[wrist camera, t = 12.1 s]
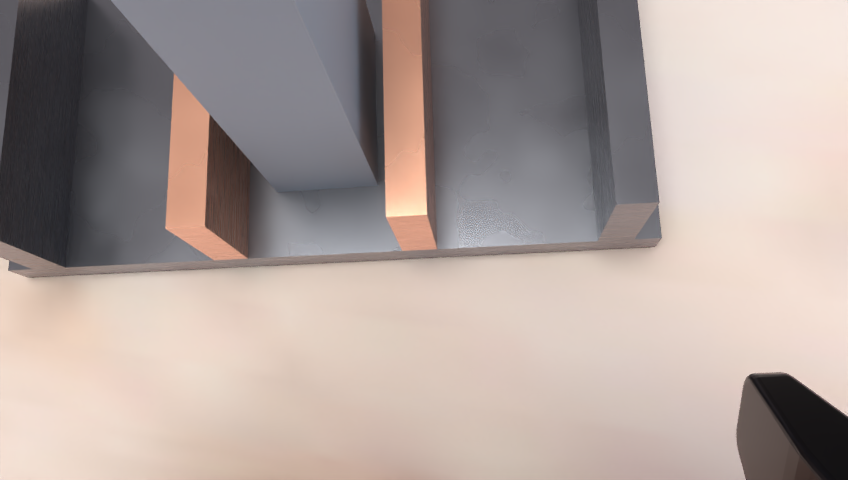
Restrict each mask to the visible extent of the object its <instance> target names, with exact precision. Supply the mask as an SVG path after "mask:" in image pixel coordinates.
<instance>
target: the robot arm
mask: <svg viewBox="0 0 848 480" xmlns="http://www.w3.org/2000/svg"><path fill="white" fill-rule="evenodd" d="M737 446H738V451H739V455H740V459H741V463H742V466H743V470H744V474H745V478H746V480H848V416H847V415H845V414H844V413H842V412H841V411H840V410H838V409H837V408H835V407H834V406H833V405H831V404H830V403H829V402H827V401H826V400H824V399H823V398H822V397H820V396H819V395H817V394H816V393H815V392H813V391H812V390H811V389H809V388H808V387H806V386H805V385H804V384H802V383H801V382H799V381H798V380H797V379H795V378H794V377H792V376H791V375H789V374H787V373H781V372H776V373H754V374H751V375H749V376H748V377H747V378H746V380H745V382H744V385H743V391H742V398H741V404H740V410H739V417H738V423H737Z"/></svg>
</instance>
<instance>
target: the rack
mask: <svg viewBox="0 0 848 480" xmlns="http://www.w3.org/2000/svg"><path fill="white" fill-rule="evenodd" d="M365 1H366V5H367V8H368V11H369V15H370V18H371V22H372V25H373V28H374V35H375V75H376V115H377V154H378V186H365V187H350V188H334V189H319V190H304V191H288V192H277V191H276V190H275V189H274V188H273V187H272V185H271V184H270V183H269V182H268V181H267V180H266V179H265V177H264V176H263V175H262V174H261V173H260V172H259V170H258V169H257V168H256V167H255V166H254V165H253V164H252V162H251V161H250V160H249V159H248V158H247V157H246V155H245V154H244V153H243V152H242V151H241V150H240V149H239V147H238V146H237V145H236V144H235V143H234V142H233V141H232V139H231V138H230V137H229V136H228V135H227V134H226V132H225V131H224V130H223V129H222V128H221V127H220V126H219V124H218V123H217V122H216V121H215V120H214V119H213V117H212V116H211V115H210V114H209V113H208V112H207V111H206V109H205V108H204V107H203V106H202V105H201V104H200V103H199V101H198V100H197V99H196V98H195V97H194V96H193V94H192V93H191V92H190V91H189V90H188V89H187V88H186V86H185V85H184V84H183V83H182V82H181V81H180V79H179V78H178V77H177V76H176V75H175V74H174V73H173V71H172V70H171V69H170V68H169V67H168V66H167V64H166V63H165V62H164V61H163V60H162V59H161V58H160V56H159V55H158V54H157V53H156V52H155V51H154V50H153V48H152V47H151V46H150V45H149V44H148V43H147V41H146V40H145V39H144V38H143V37H142V36H141V35H140V33H139V32H138V31H137V30H136V29H135V28H134V26H133V25H132V24H131V23H130V22H129V21H128V20H127V18H126V17H125V16H124V15H123V14H122V13H121V12H120V10H119V9H118V8H117V7H116V6H115V5H114V3H113V2H112V1H111V0H0V257H1V258H4V259H7V260H9V268H8V271H11V272H14V273H17V274H20V275H22V276H25V277H44V276H64V275H85V274H105V273H126V272H146V271H167V270H187V269H208V268H228V267H249V266H269V265H290V264H310V263H331V262H351V261H372V260H392V259H413V258H433V257H453V256H474V255H494V254H515V253H535V252H556V251H576V250H597V249H617V248H638V247H655V246H656V244H657V243H658V242H659V241H660V239H661V238H662V237H661V227H660V218H659V209H658V204H659V195H658V186H657V177H656V168H655V158H654V149H653V140H652V131H651V122H650V113H649V104H648V94H647V85H646V76H645V67H644V58H643V49H642V39H641V30H640V21H639V12H638V3H637V0H365Z"/></svg>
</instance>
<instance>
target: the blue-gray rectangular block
mask: <svg viewBox="0 0 848 480" xmlns="http://www.w3.org/2000/svg"><path fill="white" fill-rule="evenodd" d="M111 1H112V2H113V3H114V5H115V6H116V7H117V8H118V9H119V10H120V12H121V13H122V14H123V15H124V16H125V17H126V18H127V20H128V21H129V22H130V23H131V24H132V25H133V26H134V28H135V29H136V30H137V31H138V32H139V33H140V35H141V36H142V37H143V38H144V39H145V40H146V41H147V43H148V44H149V45H150V46H151V47H152V48H153V50H154V51H155V52H156V53H157V54H158V55H159V56H160V58H161V59H162V60H163V61H164V62H165V63H166V64H167V66H168V67H169V68H170V69H171V70H172V71H173V73H174V74H175V75H176V76H177V77H178V78H179V79H180V81H181V82H182V83H183V84H184V85H185V86H186V88H187V89H188V90H189V91H190V92H191V93H192V94H193V96H194V97H195V98H196V99H197V100H198V101H199V103H200V104H201V105H202V106H203V107H204V108H205V109H206V111H207V112H208V113H209V114H210V115H211V116H212V117H213V119H214V120H215V121H216V122H217V123H218V124H219V126H220V127H221V128H222V129H223V130H224V131H225V132H226V134H227V135H228V136H229V137H230V138H231V139H232V141H233V142H234V143H235V144H236V145H237V146H238V147H239V149H240V150H241V151H242V152H243V153H244V154H245V155H246V157H247V158H248V159H249V160H250V161H251V162H252V164H253V165H254V166H255V167H256V168H257V169H258V170H259V172H260V173H261V174H262V175H263V176H264V177H265V179H266V180H267V181H268V182H269V183H270V184H271V185H272V187H273V188H274V189H275V190H276V191H277V192H288V191H304V190H319V189H334V188H350V187H365V186H378V154H377V115H376V75H375V35H374V28H373V25H372V22H371V18H370V15H369V11H368V8H367V5H366V1H365V0H111Z"/></svg>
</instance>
